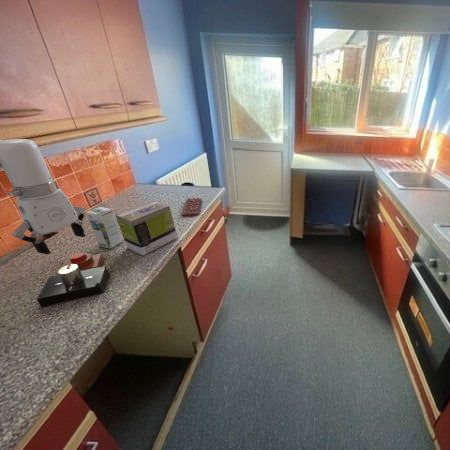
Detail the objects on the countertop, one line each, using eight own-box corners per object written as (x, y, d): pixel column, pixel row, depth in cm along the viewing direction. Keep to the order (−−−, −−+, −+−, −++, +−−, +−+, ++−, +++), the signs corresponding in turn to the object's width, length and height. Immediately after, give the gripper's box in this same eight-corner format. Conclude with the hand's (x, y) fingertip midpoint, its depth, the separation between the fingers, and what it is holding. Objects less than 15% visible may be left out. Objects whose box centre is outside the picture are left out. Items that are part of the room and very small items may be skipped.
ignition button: (70, 264, 80) (68, 259, 79) (73, 257, 83) (71, 253, 82) (84, 261, 81) (82, 257, 80) (87, 255, 84) (85, 251, 83)
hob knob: (81, 283, 73) (75, 270, 71) (62, 287, 71) (55, 274, 69) (85, 274, 77) (79, 262, 74) (67, 278, 75) (60, 265, 73)
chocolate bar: (182, 216, 120) (181, 212, 119) (187, 201, 136) (186, 198, 135) (198, 215, 121) (197, 211, 121) (201, 200, 138) (200, 197, 137)
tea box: (162, 232, 106) (154, 200, 99) (178, 238, 102) (170, 205, 95) (126, 248, 95) (114, 213, 88) (142, 256, 91) (131, 220, 84)
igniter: (60, 279, 79) (54, 269, 77) (68, 265, 85) (63, 255, 83) (98, 271, 83) (94, 262, 81) (103, 258, 89) (99, 249, 87)
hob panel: (41, 307, 69) (36, 298, 67) (54, 284, 77) (49, 276, 75) (102, 292, 74) (99, 284, 73) (108, 273, 82) (105, 265, 81)
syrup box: (98, 246, 95) (84, 212, 88) (112, 238, 100) (100, 206, 93) (109, 249, 94) (96, 214, 87) (123, 241, 99) (112, 208, 92)
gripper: (5, 203, 57) (39, 263, 65) (81, 180, 72) (101, 232, 80) (-18, 199, 58) (18, 258, 66) (61, 178, 73) (83, 228, 81)
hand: (63, 244), depth 73 cm, fingers open, 9 cm apart
